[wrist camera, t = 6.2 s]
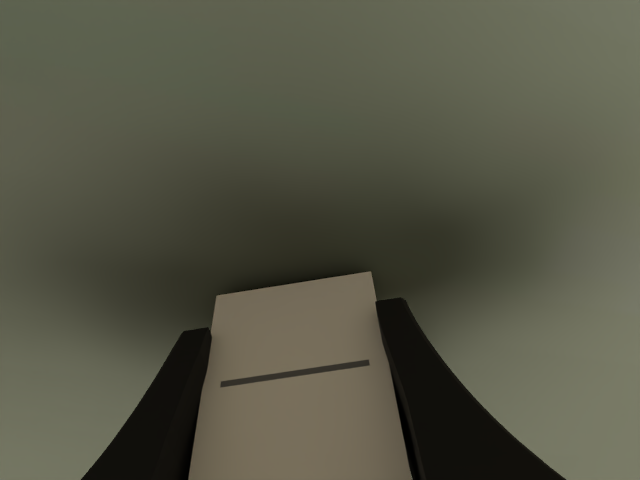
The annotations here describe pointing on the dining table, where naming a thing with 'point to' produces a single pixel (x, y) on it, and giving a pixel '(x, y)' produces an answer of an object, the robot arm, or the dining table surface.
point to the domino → (299, 387)
